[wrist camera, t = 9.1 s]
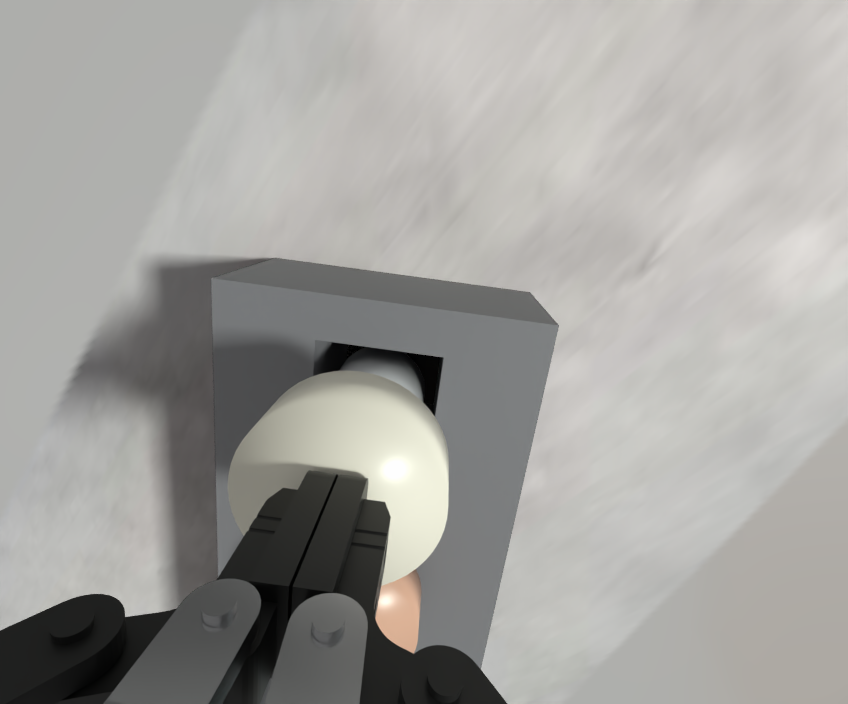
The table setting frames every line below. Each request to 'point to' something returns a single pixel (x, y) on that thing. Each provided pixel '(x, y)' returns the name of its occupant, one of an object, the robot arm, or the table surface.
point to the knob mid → (400, 611)
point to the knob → (355, 450)
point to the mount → (453, 403)
